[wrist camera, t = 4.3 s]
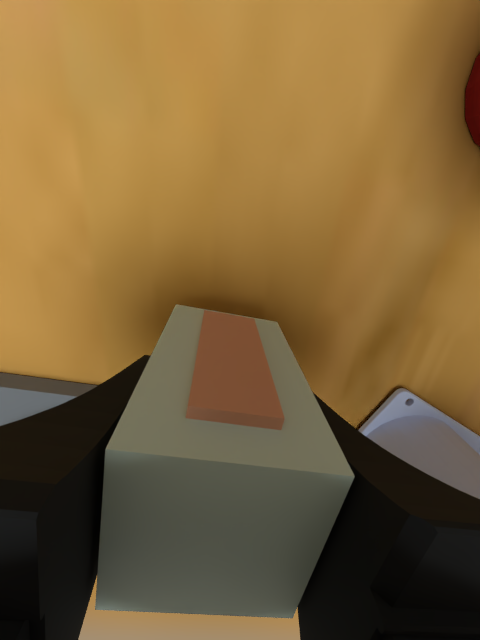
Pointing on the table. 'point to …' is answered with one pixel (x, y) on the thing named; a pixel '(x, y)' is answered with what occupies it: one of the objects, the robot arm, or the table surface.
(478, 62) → the plastic cup
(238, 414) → the pale green rectangular block
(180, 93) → the table surface
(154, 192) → the table surface
